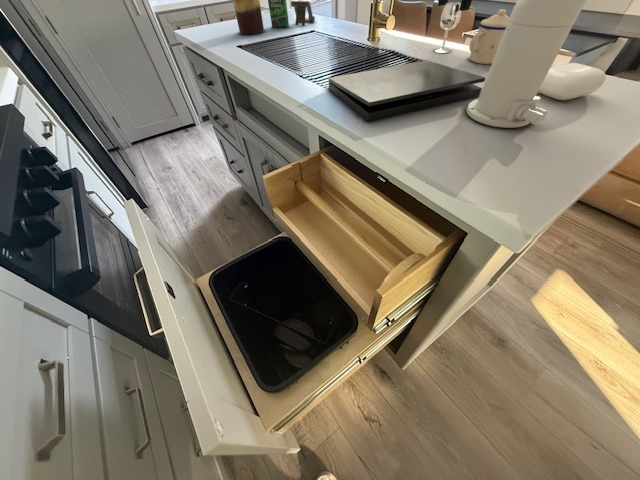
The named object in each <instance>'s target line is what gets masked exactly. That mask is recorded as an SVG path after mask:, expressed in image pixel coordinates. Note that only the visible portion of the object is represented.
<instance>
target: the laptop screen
mask: <svg viewBox="0 0 640 480" xmlns="http://www.w3.org/2000/svg"><path fill="white" fill-rule="evenodd" d="M485 81H486V77H485V76H482V75H477V74H474V73H472V72H468V71H464V70H461V69H458V68H454V67H451V66H448V65H444V64H442V63H437V62H434V61H431V60H427V59H426V60H419V61H415V62H409V63H404V64H399V65H393V66H387V67H381V68H377V69H370V70H365V71H359V72H354V73H348V74H343V75H338V76H333V77H328V83H329V82H330V83H332V84H334V85H335V86H337V87H338V88H340V89H342V90H343V91H345V92H346V93H348V94H350V95H351V96H353V97H355V98H356V99H358V100H359V101H361V102H363V103H364V104H366V105H367V106H374V105H379V104H383V103H388V102H392V101H397V100H402V99H406V98H411V97H415V96H420V95H425V94H429V93H434V92H439V91H443V90H448V89H452V88H457V87H462V86H466V85H471V84H474V85H476V84H479V83H480V84H481V83H485Z"/></svg>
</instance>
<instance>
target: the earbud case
mask: <svg viewBox="0 0 640 480" xmlns="http://www.w3.org/2000/svg"><path fill="white" fill-rule="evenodd" d="M606 79H607V75H606V73H605V72H604V71H603V70H602V69H600V68H597V67H595V66H590V65H587V64H584V63H579V62H568V63H562V64H558V65H553V66H551V68H550V70H549V72H548V73H547V75H546V77H545V79H544V81H543V83H542V85H541V87H540V89H539V90H538V92H537V94H538V93H539V94H540V95H543V96H547V97H549V98H552V99H554V100H558V101H569V100H574V99H577V98H581V97H584V96H587V95H591V94H593V93H595V92H596V91H598V90H599V89H600V88H601V87H602V86H603V85H604V83H605V81H606Z"/></svg>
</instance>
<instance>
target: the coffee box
mask: <svg viewBox="0 0 640 480" xmlns="http://www.w3.org/2000/svg"><path fill="white" fill-rule="evenodd" d="M267 3H268V9H269V16H270V23H271V28H283V29H284V28H289V26H290V21H289V15H288V14H289V13H288V5H287V0H267Z"/></svg>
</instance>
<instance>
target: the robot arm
mask: <svg viewBox="0 0 640 480" xmlns="http://www.w3.org/2000/svg"><path fill="white" fill-rule="evenodd" d="M437 1H438V2H437V6H438V7H443V6H444V7H445V5H446V3H449V0H437ZM587 1H588V0H517V1H516V2H515V5H514V6H513V8H512V10H511V13H510V16H509V21H508V23H507V26H506V28H505V31H504V34H503V36H502V39H501V41H500V44H499V47H498V49H497V52H496V54H495V57H494V60H493V62H492V64H490V67H489V70H488V73H487V76H486V77H485V81H484V82H483V86H482V87H481V88H482V90H481V92H480V95H479V96H478V98H477V99H474V100H472V101H470V102H469V103H468V104H467V105H466V106H467V107H466V111H465V112H466V114H467V115H468V116H469V117H470V118H471V119H472V120H474V121H476V122H477V123H480V124H483V125H486V126H491V127H495V128H505V129H506V128H507V129H514V128H522V127H525V126H528V125H529V124H532V125H534V126H539V125H540V124H541V123H542V122H543V121H544V120H545V118H546V116H547V114H548V110H545V109H543V108H540V107H538V104H539V102H540V100H541V97H540V96H537V94H538V90H539V89H540V87H541V85H542V83H543V81H544V79H545V77H546V75H547V73H548V72H549V70H550V68H551V67H553V65H554V62H555V60H556V59H557V57H558V55H559V53H560V51H561V49H562V47H563V45H564V44H565V41H566V40H567V38H568V36H569V34H570V32H571V30H572V28H573V26H574V25H575V23H576V21H577V19H578V18H579V16H580V13H581V12H582V10H583V8H584V6H585V5H586V3H587ZM472 2H473V0H461V2H460V3H461V5H460V11H462V12H463V11H464V12H465V11H470V9H471V5H472Z"/></svg>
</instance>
